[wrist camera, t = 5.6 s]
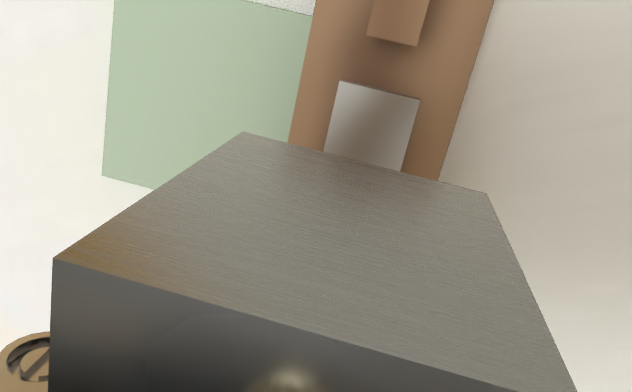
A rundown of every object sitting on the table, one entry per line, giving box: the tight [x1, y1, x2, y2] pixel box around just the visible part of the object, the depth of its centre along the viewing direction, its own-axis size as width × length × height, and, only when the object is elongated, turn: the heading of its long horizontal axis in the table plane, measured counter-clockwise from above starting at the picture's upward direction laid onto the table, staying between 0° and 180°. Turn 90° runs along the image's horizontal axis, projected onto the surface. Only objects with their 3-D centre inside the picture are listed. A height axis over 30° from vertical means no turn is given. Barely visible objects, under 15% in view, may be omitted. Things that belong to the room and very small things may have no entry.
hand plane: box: [287, 0, 494, 181], centre depth 26 cm, size 8×20×8 cm, turn 168°
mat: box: [102, 0, 313, 190], centre depth 30 cm, size 12×12×1 cm
